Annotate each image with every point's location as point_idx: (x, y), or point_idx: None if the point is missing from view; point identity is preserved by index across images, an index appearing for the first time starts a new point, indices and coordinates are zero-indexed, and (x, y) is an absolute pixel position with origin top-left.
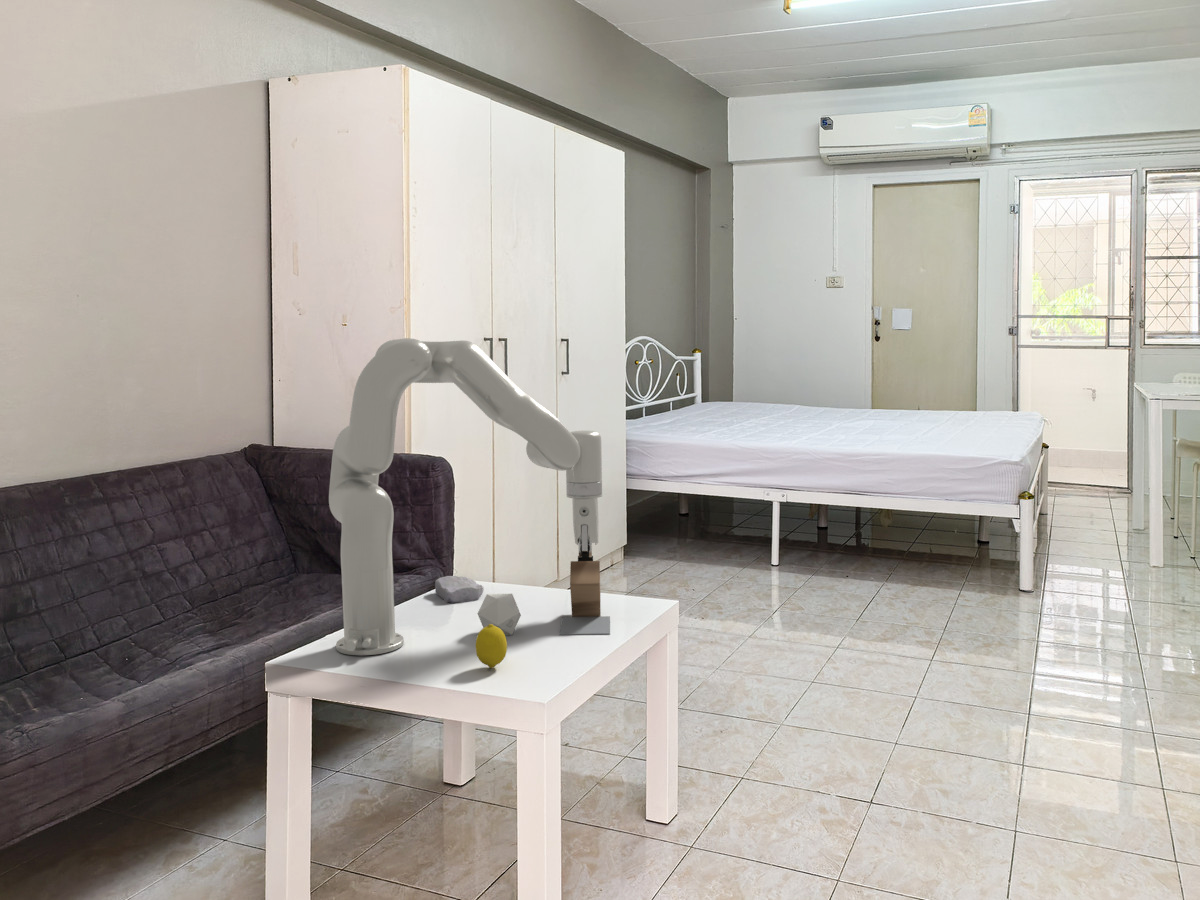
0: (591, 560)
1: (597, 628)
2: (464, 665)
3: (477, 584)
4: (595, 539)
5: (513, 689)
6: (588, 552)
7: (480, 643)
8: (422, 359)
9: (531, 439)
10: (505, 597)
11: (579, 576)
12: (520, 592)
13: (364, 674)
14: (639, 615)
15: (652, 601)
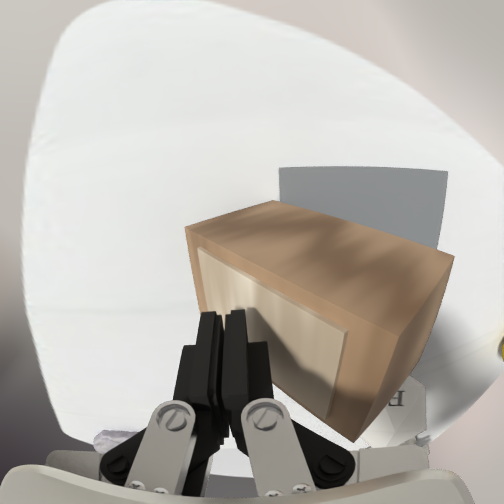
0: (246, 380)
1: (408, 204)
2: (484, 363)
3: (105, 440)
4: (471, 498)
5: None
6: (333, 444)
7: None
8: None
9: None
10: (413, 428)
11: (416, 355)
12: (78, 386)
13: (458, 416)
14: (251, 67)
15: (71, 58)
